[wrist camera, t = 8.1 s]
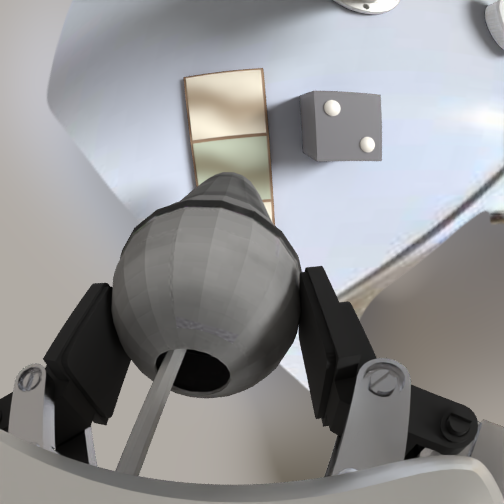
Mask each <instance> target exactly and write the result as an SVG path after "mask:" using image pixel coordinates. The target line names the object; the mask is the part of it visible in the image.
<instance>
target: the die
mask: <svg viewBox="0 0 504 504" xmlns="http://www.w3.org/2000/svg"><path fill="white" fill-rule="evenodd" d="M300 109H301V124H302V142H303V153H305V154H306V155H308V156H310V157H311V158H313V159H314V160H316V161H382V119H381V96H380V95H377V94H367V93H354V92H338V91H312V92H309V93H306V94H303V95H300Z"/></svg>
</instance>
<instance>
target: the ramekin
mask: <svg viewBox="0 0 504 504" xmlns="http://www.w3.org/2000/svg"><path fill="white" fill-rule="evenodd" d="M485 20H486V24H487V27H488V29H489V31H490V33H491V35H492V37H493V39H494V40H495V41H496V43H497V44H498V45H499V46H500V47H501V48H502V49H503V50H504V0H498V1H497V2H495V3H493V4H491V5H489V6H487V8H486V11H485Z"/></svg>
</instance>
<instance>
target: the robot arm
mask: <svg viewBox="0 0 504 504" xmlns="http://www.w3.org/2000/svg"><path fill="white" fill-rule="evenodd" d="M333 1H335V2H337V3H338V4H340V5H342V6H344V7H346V8H348V9H350V10H353V11H356V12H360V13H364V14H374V15H375V14H383V13H386V12H388V11H390V10H392V9H394V8H395V7H396V6H397V5H398V3H399V2H400V0H333ZM112 290H113V287H110V286H109V284H108V283H95V284H92V285H91V287H90V288H89V290H88V291H87V292H86V294H85V295H84V297H83V298H82V299H81V301H80V302H79V304H78V305H77V307H76V308H75V309H74V311H73V312H72V314H71V315H70V317H69V318H68V320H67V321H66V323H65V324H64V326H63V327H62V329H61V330H60V332H59V334H58V335H57V337H56V338H55V340H54V342H53V343H52V345H51V347H50V348H49V350H48V351H47V353H46V355H45V356H44V358H43V360H44V361H45V362H46V364H47V366H46V368H44V367H43V366H42V365H41V364H31V365H28V366H26V367H25V368H23V369H22V370H21V371H20V372H19V374H18V375H17V377H16V380H15V384H14V390H13V392H12V393H10V394H8V395H7V396H5V397H3V398H1V399H0V504H504V427H503V426H500V425H498V424H495V423H492V422H489V421H487V420H483V421H482V422H479V421H477V418H476V416H475V414H474V412H472V410H471V409H470V408H468V407H466V406H464V405H462V404H459V403H456V402H454V401H451V400H449V399H446V398H443V397H441V396H438V395H435V394H433V393H430V392H428V391H426V390H423V389H421V388H418V387H416V386H413V385H411V379H410V374H409V372H408V370H407V369H406V368H405V367H404V366H403V365H402V364H401V363H399V362H397V361H395V360H392V359H388V358H376V356H375V354H374V351H373V349H372V347H371V345H370V343H369V340H368V338H367V336H366V334H365V332H364V329H363V327H362V325H361V323H360V321H359V319H358V317H357V315H356V313H355V311H354V309H353V307H352V305H351V303H350V302H340V303H339V301H338V299H337V296H336V294H335V292H334V290H333V288H332V285H331V283H330V281H329V279H328V277H327V275H326V272H325V270H324V268H323V267H322V266H317V267H307V268H305V272H300V276H299V291H300V302H301V314H300V320H299V341H300V346H301V350H302V355H303V360H304V365H305V369H306V374H307V379H308V384H309V389H310V394H311V399H312V403H313V408H314V413H315V417H316V419H319V418H322V423H323V426H329V428H330V431H332V432H333V433H335V434H337V438H336V441H335V445H334V448H333V452H332V454H331V458H330V461H329V464H328V467H327V470H326V473H325V476H324V477H323V478H316V479H309V480H301V481H292V482H283V483H272V484H253V485H213V484H196V483H183V482H174V481H166V480H158V479H151V478H145V477H140V476H135V475H129V474H125V473H120V472H116V471H112V470H107V469H103V468H99V467H97V462H96V456H95V450H94V444H93V436H92V428H91V423H92V421H93V422H94V423H98V424H103V425H107V421H108V418H110V417H112V415H113V412H114V408H115V406H116V402H117V399H118V396H119V393H120V390H121V387H122V384H123V381H124V378H125V375H126V373H127V370H128V367H129V364H130V361H131V359H130V357H129V356H128V355H127V353H126V352H125V350H124V348H123V346H122V344H121V342H120V340H119V337H118V334H117V331H116V328H115V325H114V322H113V317H112V311H111V307H112ZM55 448H56V451H55V450H54V449H55Z"/></svg>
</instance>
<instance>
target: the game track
mask: <svg viewBox="0 0 504 504" xmlns="http://www.w3.org/2000/svg"><path fill="white" fill-rule="evenodd" d="M183 78H184V88H185V98H186V107H187V117H188V125H189V134H190V142H191V150H192V157H193V165H194V172H195V179H196V186H197V187H198V186H199V185H200V184H201V183H203V182H204V181H205V180H207V179H208V178H210V177H212V176H214V175H216V174H219V173H222V172H234V173H237V174H240V175H243V176H244V177H246V178H247V179H248V180H250V181H251V183H252V184H253V185H254V187H255V188H256V190H257V191H258V193H259V194H260V197H261V199H262V201H263V203H264V205H265V208H266V210H267V212H268V214H269V216H270V219H271V221H272V223H273V224H274V225H275V218H274V201H273V186H272V171H271V156H270V143H269V130H268V117H267V105H266V94H265V82H264V72H263V68H258V69H244V70H233V71H223V72H215V73H208V74H201V75H195V76H189V77H183Z"/></svg>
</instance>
